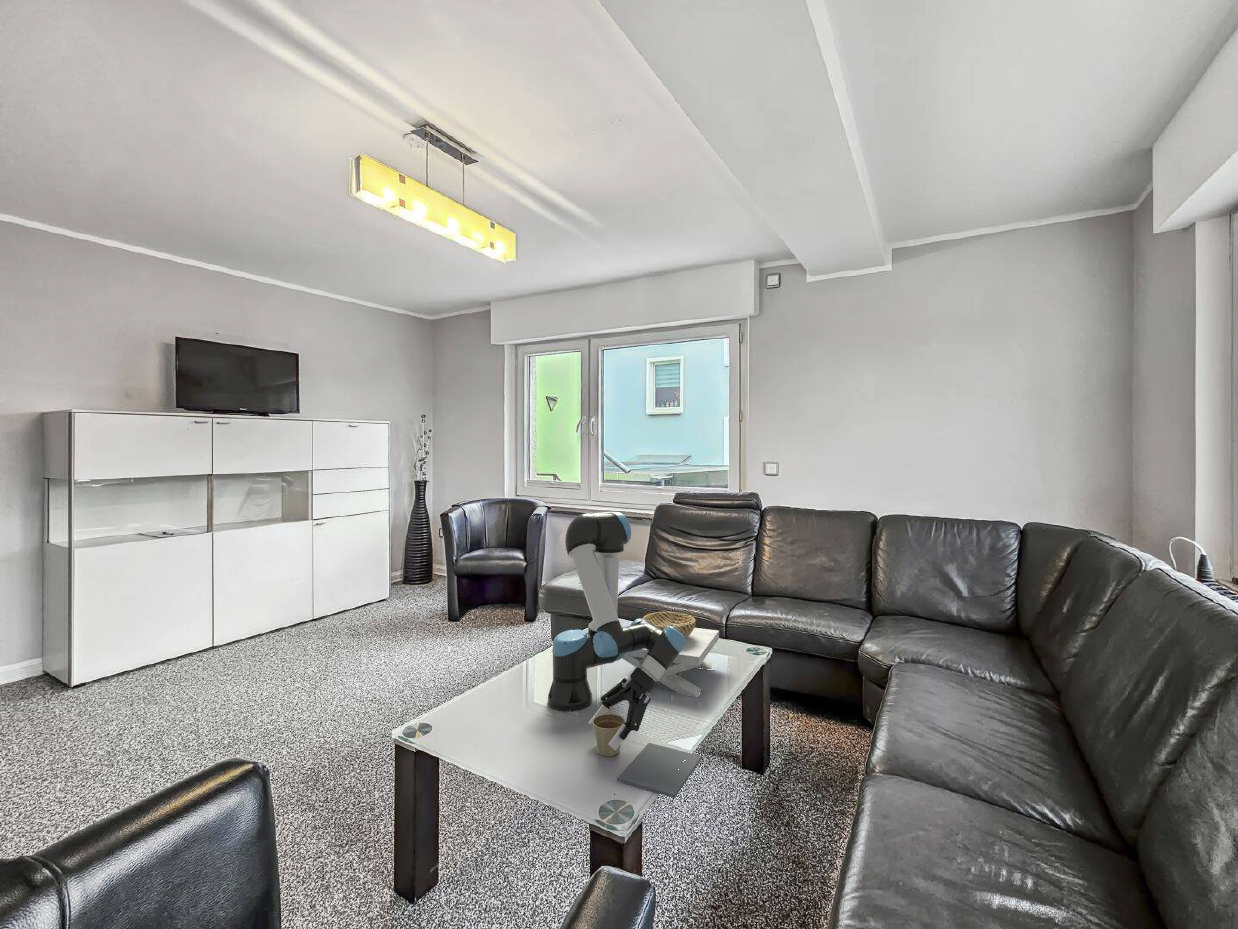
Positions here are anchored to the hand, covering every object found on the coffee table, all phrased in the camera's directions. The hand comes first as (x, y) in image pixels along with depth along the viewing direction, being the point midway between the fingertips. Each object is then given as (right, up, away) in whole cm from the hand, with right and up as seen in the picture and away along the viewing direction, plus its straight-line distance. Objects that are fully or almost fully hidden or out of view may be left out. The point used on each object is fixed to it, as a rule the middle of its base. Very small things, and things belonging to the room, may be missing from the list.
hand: (601, 736), depth 157 cm
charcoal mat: (+16, -5, -8) cm, 19 cm away
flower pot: (+2, -5, +1) cm, 5 cm away
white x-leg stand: (+24, -4, +57) cm, 62 cm away
